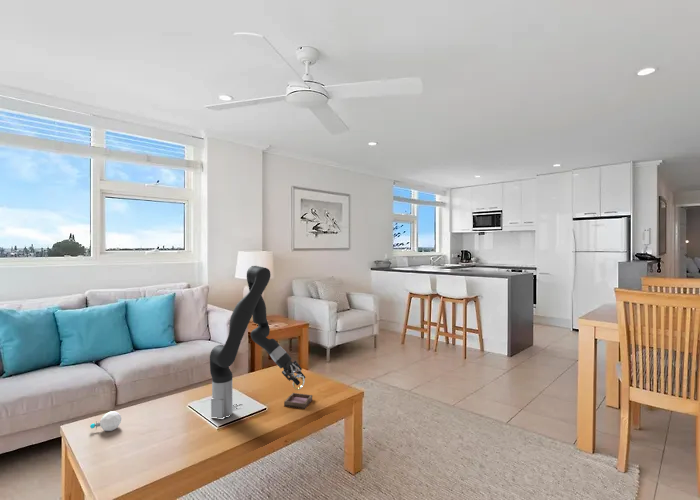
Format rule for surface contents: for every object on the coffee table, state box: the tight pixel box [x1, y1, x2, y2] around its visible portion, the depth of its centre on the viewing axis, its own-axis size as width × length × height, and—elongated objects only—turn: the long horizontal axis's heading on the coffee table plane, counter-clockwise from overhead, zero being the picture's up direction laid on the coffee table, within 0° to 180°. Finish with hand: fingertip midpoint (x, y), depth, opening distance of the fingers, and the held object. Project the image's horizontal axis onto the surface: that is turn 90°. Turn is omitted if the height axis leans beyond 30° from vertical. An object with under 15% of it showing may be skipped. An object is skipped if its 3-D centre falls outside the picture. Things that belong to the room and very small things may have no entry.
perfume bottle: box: [89, 410, 122, 432], centre depth 164 cm, size 8×8×12 cm
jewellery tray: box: [283, 392, 313, 410], centre depth 193 cm, size 11×11×2 cm
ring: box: [292, 374, 306, 391], centre depth 192 cm, size 7×3×8 cm, turn 133°
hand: (301, 381), depth 192 cm, fingers closed on ring, 6 cm apart
